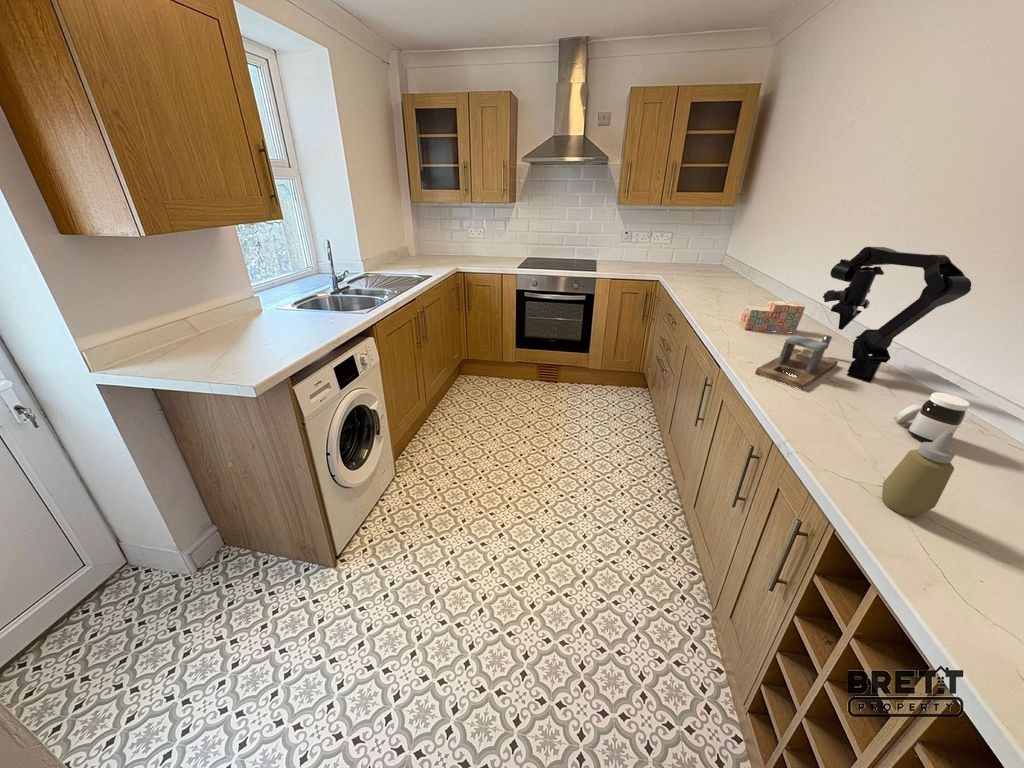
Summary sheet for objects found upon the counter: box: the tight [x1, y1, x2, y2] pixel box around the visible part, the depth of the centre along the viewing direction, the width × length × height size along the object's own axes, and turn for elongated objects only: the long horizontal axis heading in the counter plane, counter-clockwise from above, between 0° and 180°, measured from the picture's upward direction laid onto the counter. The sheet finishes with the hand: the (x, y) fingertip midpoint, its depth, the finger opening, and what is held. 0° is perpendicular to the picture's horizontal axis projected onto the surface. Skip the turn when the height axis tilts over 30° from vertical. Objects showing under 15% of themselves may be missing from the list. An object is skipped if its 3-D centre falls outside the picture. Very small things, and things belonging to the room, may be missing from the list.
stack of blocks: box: [738, 300, 806, 334], centre depth 175 cm, size 21×6×12 cm, turn 85°
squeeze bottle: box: [881, 431, 956, 518], centre depth 77 cm, size 8×8×18 cm
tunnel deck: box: [754, 334, 839, 390], centre depth 137 cm, size 14×32×11 cm, turn 128°
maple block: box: [801, 347, 814, 357], centre depth 142 cm, size 4×4×4 cm
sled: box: [795, 334, 833, 362], centre depth 145 cm, size 6×18×6 cm, turn 128°
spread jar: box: [893, 391, 971, 443], centre depth 104 cm, size 12×11×12 cm
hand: (840, 329), depth 143 cm, fingers closed
